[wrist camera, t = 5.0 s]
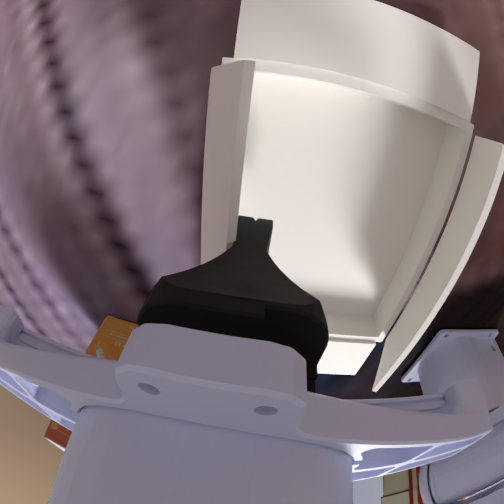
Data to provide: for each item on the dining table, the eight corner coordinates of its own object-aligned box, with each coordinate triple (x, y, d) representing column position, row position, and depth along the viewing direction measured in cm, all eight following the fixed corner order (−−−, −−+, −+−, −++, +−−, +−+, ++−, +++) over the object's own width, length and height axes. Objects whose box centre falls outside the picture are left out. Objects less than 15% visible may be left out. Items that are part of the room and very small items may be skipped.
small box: (190, 333, 22) (146, 484, 11) (192, 372, 25) (162, 493, 15) (105, 312, 22) (41, 436, 11) (119, 353, 25) (75, 459, 15)
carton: (460, 56, 9) (486, 56, 7) (356, 350, 21) (360, 374, 19) (240, -7, 9) (233, -23, 7) (213, 335, 22) (207, 359, 19)
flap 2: (475, 135, 9) (480, 138, 9) (385, 339, 17) (389, 340, 17) (503, 144, 6) (509, 147, 6) (371, 390, 13) (376, 392, 13)
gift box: (360, 441, 36) (363, 529, 21) (444, 389, 26) (467, 504, 11) (421, 439, 38) (429, 510, 24) (492, 392, 28) (513, 473, 14)
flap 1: (258, 61, 6) (244, 59, 6) (225, 380, 14) (218, 381, 13) (220, 68, 9) (211, 67, 9) (207, 319, 17) (201, 320, 17)
